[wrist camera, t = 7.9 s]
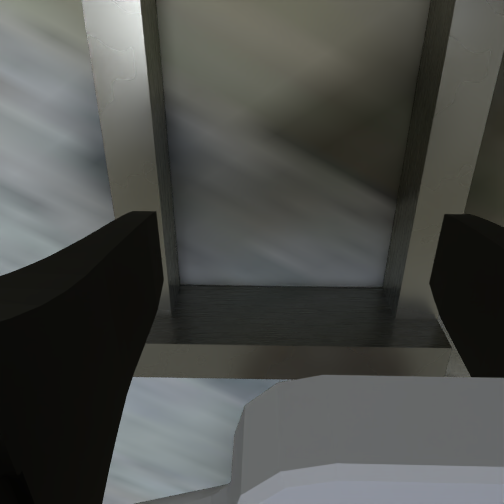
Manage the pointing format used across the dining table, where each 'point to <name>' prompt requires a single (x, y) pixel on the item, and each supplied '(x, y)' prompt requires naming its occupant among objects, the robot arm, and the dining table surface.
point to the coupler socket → (301, 298)
